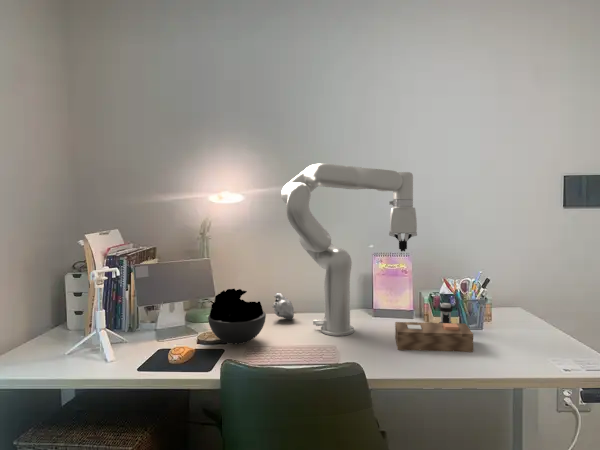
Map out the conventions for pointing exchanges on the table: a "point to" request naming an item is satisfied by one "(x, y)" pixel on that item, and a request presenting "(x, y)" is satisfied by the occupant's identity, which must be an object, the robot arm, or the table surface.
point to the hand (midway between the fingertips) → (402, 250)
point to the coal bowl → (235, 317)
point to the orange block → (450, 326)
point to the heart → (283, 307)
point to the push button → (445, 312)
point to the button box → (433, 337)
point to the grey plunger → (414, 327)
